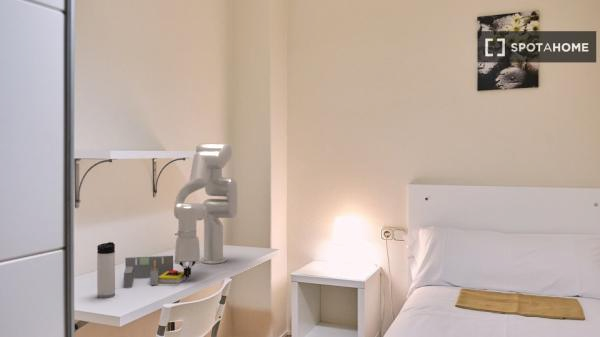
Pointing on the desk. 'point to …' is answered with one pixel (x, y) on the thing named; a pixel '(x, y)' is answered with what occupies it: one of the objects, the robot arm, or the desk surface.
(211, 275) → the desk surface
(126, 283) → the frame
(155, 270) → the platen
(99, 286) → the travel mug
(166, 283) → the emergency button
